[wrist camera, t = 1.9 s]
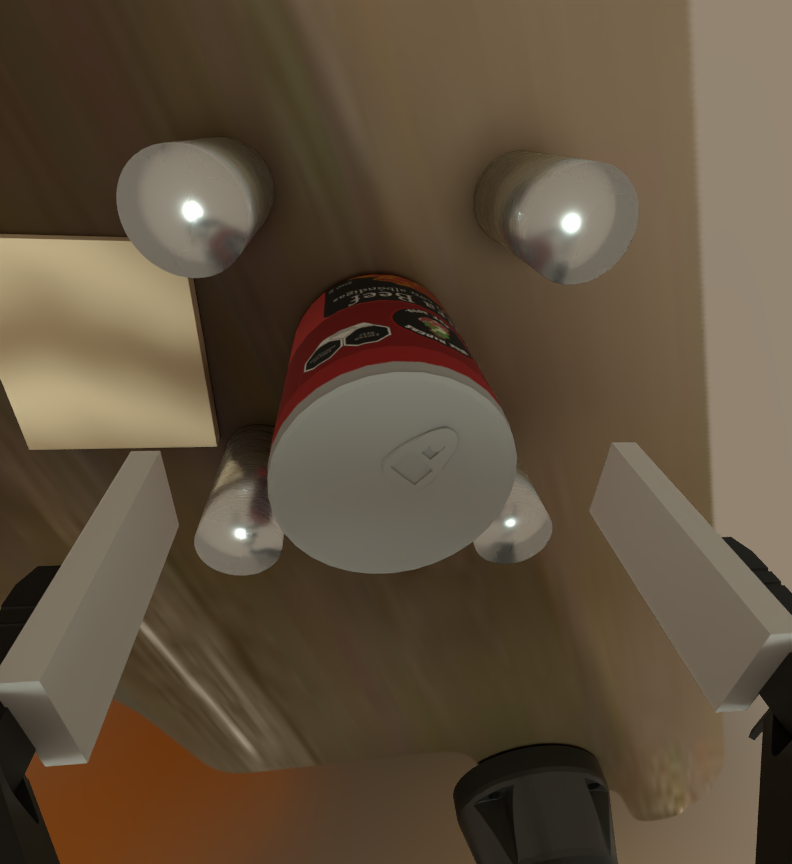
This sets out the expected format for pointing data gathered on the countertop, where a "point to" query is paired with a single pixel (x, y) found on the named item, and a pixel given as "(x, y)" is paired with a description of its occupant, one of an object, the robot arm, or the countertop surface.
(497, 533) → the cylinder
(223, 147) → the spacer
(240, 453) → the cylinder
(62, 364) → the coaster
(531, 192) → the cylinder
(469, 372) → the canned food
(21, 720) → the robot arm
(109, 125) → the countertop surface
